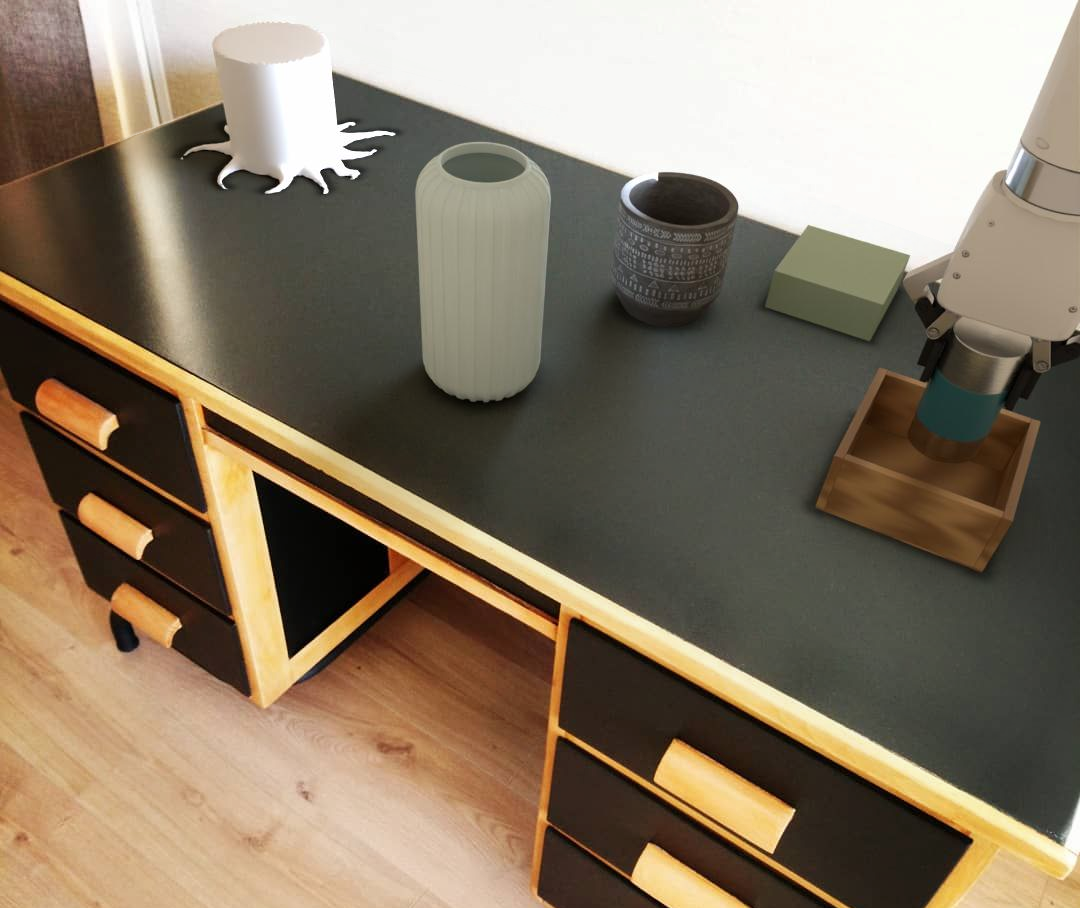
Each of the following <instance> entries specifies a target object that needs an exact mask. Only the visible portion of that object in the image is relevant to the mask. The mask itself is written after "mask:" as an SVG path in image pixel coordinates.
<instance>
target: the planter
mask: <svg viewBox="0 0 1080 908" xmlns="http://www.w3.org/2000/svg"><path fill="white" fill-rule="evenodd" d="M739 206H740V205H739V202H738V199H737V198H736V195H734V194H733V192H732V191H731V190H730V189H729V188H727V187H726V186H724V185H723V184H721V183H719V182H717V181H715V180H713V179H710V178H708V177H704V176H700V175H697V174H693V173H685V172H675V171H657V172H650V173H645V174H641V175H639V176H637V177H633V178H632V179H630V180H629V181H627V182H626V183H625V184H624V185H623V186H622V188H621V189H620V193H619V202H618V210H617V217H616V225H615V231H614V232H615V233H614V241H613V242H614V244H613V249H612V256H611V261H610V262H611V263H610V274H609V276H610V281H611V284H612V288H613V289H614V292H615V293H616V296H617V298H618V299H619V301H620V303H621V304H622V306H623V308H624V309H625V311H626V312H627V313H628V314H629V315H630V316H632V317H633V318H634V319H636V320H638V321H640V322H642V323H645V324H647V325H651V326H657V327H664V328H665V327H669V328H670V327H671V328H672V327H679V326H684V325H687V324H689V323H692V322H693V321H695V320H696V319H697V318H699V316H701V315H702V314H703V313H704V312H705V311H706V310H707V309H709V307H710V306H711V305H712V304H713V303H714V302H715V301H716V299H717V298H718V297H719V295H720V293H721V291H722V287H723V284H724V279H725V275H726V270H727V264H728V259H729V255H730V251H731V248H732V247H731V246H732V242H733V238H734V233H735V228H736V222H737V217H738V214H739Z"/></svg>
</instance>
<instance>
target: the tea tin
mask: <svg viewBox="0 0 1080 908" xmlns="http://www.w3.org/2000/svg"><path fill="white" fill-rule="evenodd" d="M1032 349H1033V339H1032V337H1030V336H1027V335H1023V334H1020V333H1016V332H1013V331H1010V330H1006V329H1003V328H1000V327H996V326H993V325H990V324H986V323H983V322H980V321H977V320H974V319H970V318H967V317H964V316H962V317H961V318H960V319H959V320H958V321H957V322H956V323H955V324H954V325H953V326H952V327H951V331H950V333H949V336H948V338H947V340H946V343H945V345H944V347H943V350H942V352H941V354H940V357H939V359H938V361H937V363H936V366H935V368H934V370H933V373H932V375H931V377H930V380H929V382H926V383H927V386H926V388H925V390H924V393H923V395H922V397H921V400H920V402H919V404H918V407H917V411H916V413H915V415H914V418H913V420H912V422H911V425H910V427H909V430H908V438H909V440H910V442H911V444H912V445H913V447H914V448H915V449H916V450H918V451H919V452H920V453H921V454H923V455H925V456H926V457H928V458H930V459H933V460H935V461H938V462H942V463H948V464H961V463H966V462H968V461H971V460H972V459H974V458H975V457H976V456H977V454H978V452H979V450H980V448H981V446H982V444H983V442H984V440H985V439H986V437H987V435H988V434H989V432H990V430H991V428H992V426H993V424H994V422H995V420H996V418H997V416H998V415H999V413H1000V411H1001V409H1003V408H1004V404H1005V401H1006V399H1007V397H1008V395H1009V393H1010V391H1011V389H1012V387H1013V385H1014V382H1015V380H1016V378H1017V376H1018V374H1019V372H1020V370H1021V368H1022V366H1023V364H1024V362H1025V360H1026V358H1027V356H1028V354H1029V353H1031V351H1032Z"/></svg>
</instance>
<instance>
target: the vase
mask: <svg viewBox="0 0 1080 908" xmlns="http://www.w3.org/2000/svg"><path fill="white" fill-rule="evenodd" d="M414 194H415V195H414V197H415V217H416V218H415V219H416V221H415V222H416V235H417V236H416V239H417V240H416V241H417V242H416V244H417V260H418V261H417V262H418V282H419V284H418V285H419V286H418V287H419V306H420V310H419V311H420V327H421V328H420V329H421V350H422V351H421V352H422V354H421V355H422V362H423V366H424V370H425V372H426V374H427V375H428V377H429V378H430V379H431V380H432V382H433V383H434V384H435V386H436V387H438V388H439V389H441V390H443V391H444V392H445V393H446V394H448V395H450V396H452V397H454V396H455V397H456V398H457V399H460V400H463V401H464V400H469V401H470V402H473V403H476V402H478V401H482V402H483V403H489V402H490V401H496V402H498V401H502V400H503V399H504V398H507V399H509V398H511V397H513V396H515V395H516V394H518V393H520V392H522V391H524V390H525V389H526V388H527V386H528V385H529V384H531V383H532V382H533V380H534V379H535V377H536V376H537V372H538V371H539V367H540V363H541V353H542V341H543V340H542V339H543V338H542V337H543V323H544V308H545V307H544V306H545V305H544V304H545V293H546V279H547V278H546V277H547V276H546V275H547V264H548V263H547V261H548V248H549V247H548V246H549V234H550V232H549V231H550V217H551V204H552V203H551V201H552V197H551V195H552V194H551V187H550V183H549V180H548V178H547V177H546V175H545V172H544V171H543V170H542V168H541V167H540V166H539V165H538V164H537V163H536V162H535V161H533V160H532V159H531V158H530V157H528V156H527V155H525V154H524V153H523V152H521V151H520V150H518V149H516V148H515V147H512V146H510V145H506V144H503V143H497V142H491V141H470V142H464V143H463V142H462V143H458V144H456V145H453V146H451V147H448V148H446V149H445V150H443V151H442V152H440V153H439V154H438V155H436V156H434V157H433V158H432V159H431V160H429V161H428V162H427V163H426V165H425V166H424V167H423V169H422V170H421V171H420V173H419V175H418V178H417V180H416V185H415V193H414Z"/></svg>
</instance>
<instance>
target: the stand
mask: <svg viewBox="0 0 1080 908" xmlns="http://www.w3.org/2000/svg"><path fill="white" fill-rule="evenodd" d="M910 258H911V255H910V254H907V253H904V252H902V251H898V250H894V249H891V248H887V247H884V246H880V245H877V244H874V243H870V242H867V241H863V240H860V239H857V238H853V237H850V236H847V235H845V234H844V235H843V234H841V233H836V232H833V231H830V230H826V229H823V228H820V227H816V226H813V225H810V224H808V225H807V226H806V227H805V228H804V230H803V231H802V233H801V234H800V236H798V238H797V240H796V241H795V242H794V243H793V245H792V246H791V248H790V249H789V250H788V251H787V252H786V254H785V256H784V257H783V258H782V259H781V261H780V263H779V264H778V265H777V266H776V267H775V269H774V271H773V275H772V277H771V283H770V286H769V289H768V294H767V297H766V301H765V304H764V308H767V309H771V310H773V311H776V312H779V313H782V314H785V315H789V316H791V317H794V318H797V319H800V320H804V321H806V322H809V323H812V324H814V325H815V324H816V325H819V326H822V327H824V328H827V329H831V330H833V331H837V332H840V333H843V334H845V335H850V336H851V337H855V338H858V339H860V340H864V341H867V342H871V340H872V338H873V336H874V335H875V333H876V331H877V328H878V327H879V325H880V323H881V321H882V320H883V318H884V316H885V315H886V312H887V311H888V308H889V307H890V305H891V303H892V301H893V299H894V298H895V296H896V294H897V292H898V290H899V287H900V285H901V282H902V279H903V276H904V273H905V271H906V268H907V265H908V263H909V260H910Z"/></svg>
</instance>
